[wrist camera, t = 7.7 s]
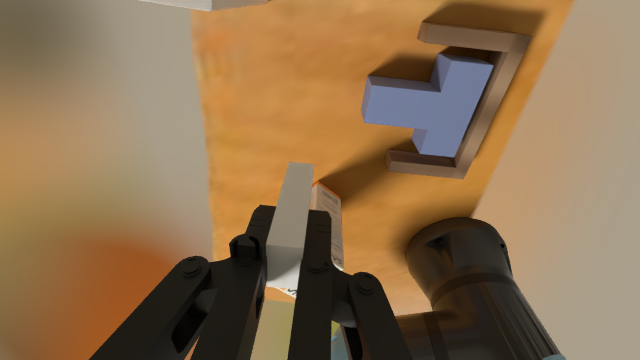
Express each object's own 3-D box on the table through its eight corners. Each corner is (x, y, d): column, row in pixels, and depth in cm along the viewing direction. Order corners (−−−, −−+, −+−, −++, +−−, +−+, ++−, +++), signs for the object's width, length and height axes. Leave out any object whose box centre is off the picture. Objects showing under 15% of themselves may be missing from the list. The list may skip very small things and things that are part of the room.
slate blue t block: (356, 132, 34) (359, 147, 31) (373, 45, 29) (378, 52, 25) (442, 141, 34) (453, 157, 31) (475, 57, 29) (493, 65, 25)
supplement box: (307, 226, 44) (298, 302, 33) (283, 210, 42) (266, 285, 31) (342, 197, 40) (346, 271, 29) (318, 178, 38) (312, 250, 28)
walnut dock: (454, 166, 36) (463, 179, 34) (384, 159, 36) (388, 171, 34) (514, 32, 27) (532, 36, 25) (421, 21, 27) (430, 24, 25)
